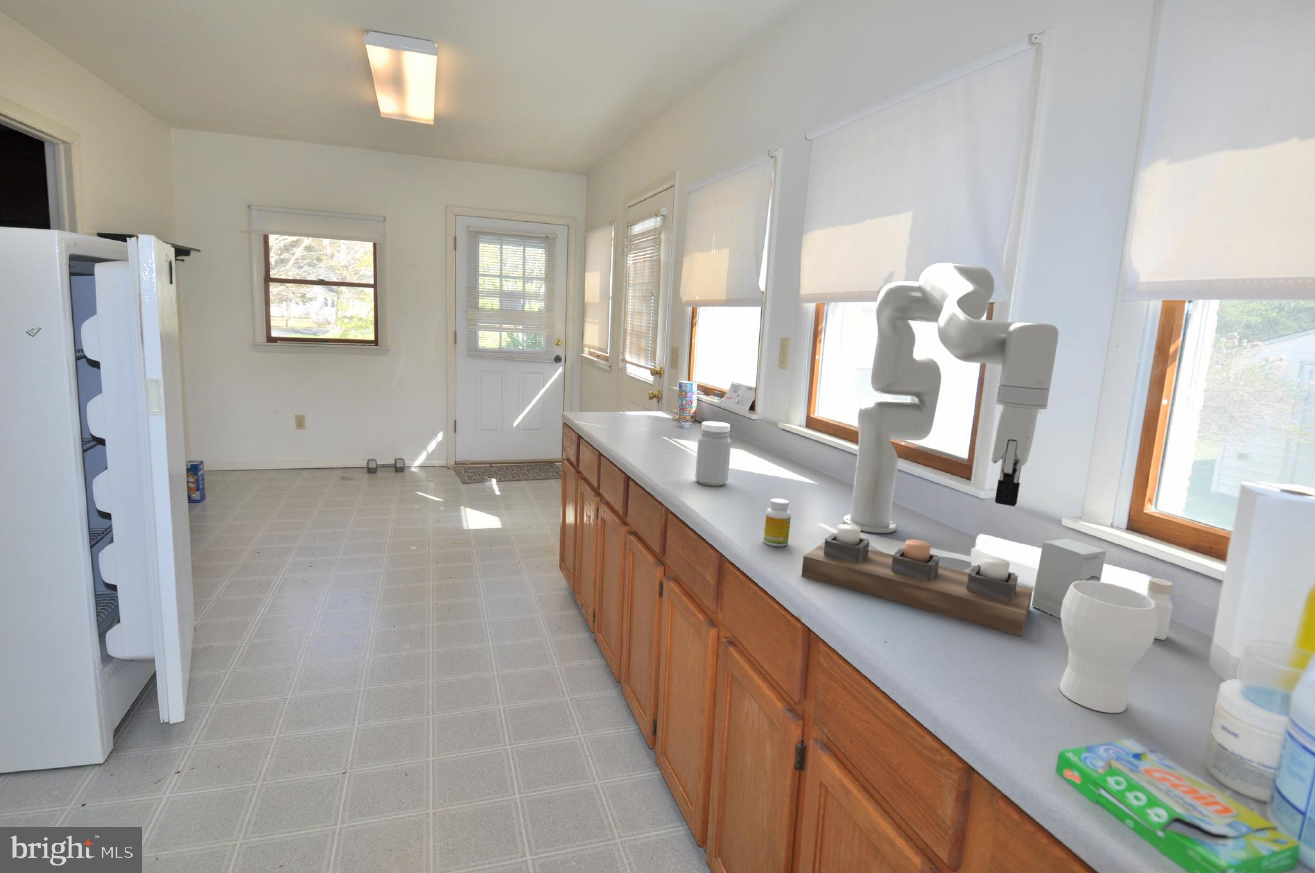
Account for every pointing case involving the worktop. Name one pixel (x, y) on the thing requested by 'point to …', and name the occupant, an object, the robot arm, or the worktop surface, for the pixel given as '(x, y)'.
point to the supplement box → (1064, 571)
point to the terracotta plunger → (917, 550)
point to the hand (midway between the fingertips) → (1005, 503)
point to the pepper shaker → (1161, 604)
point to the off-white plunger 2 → (994, 568)
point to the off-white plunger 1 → (848, 534)
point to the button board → (921, 584)
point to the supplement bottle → (777, 523)
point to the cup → (1104, 642)
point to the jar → (713, 454)
